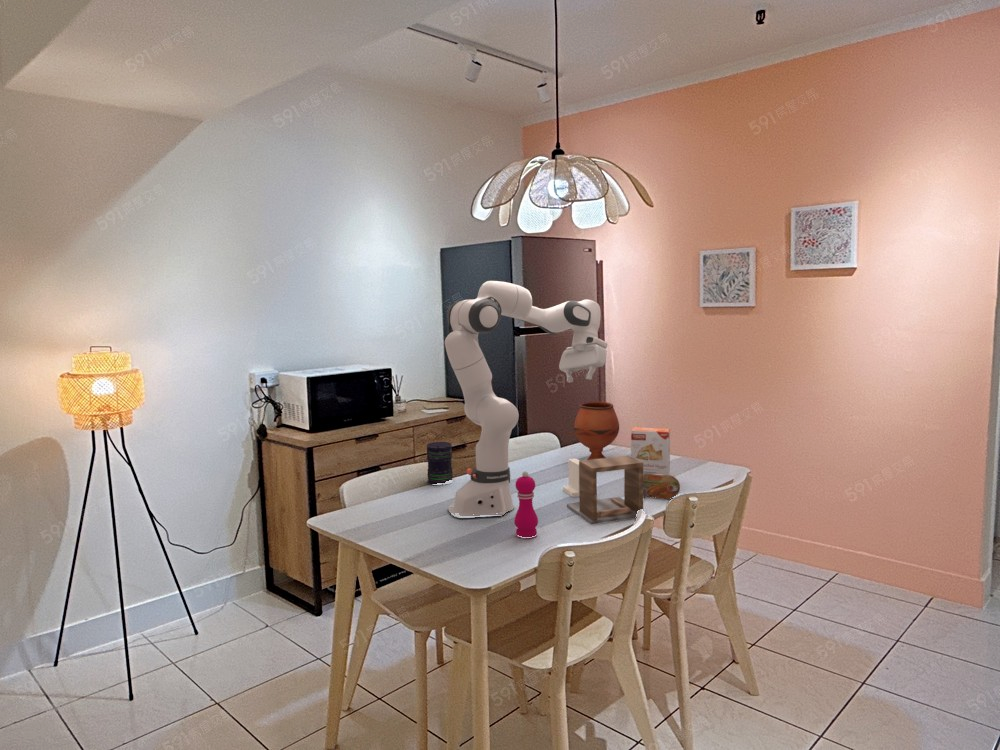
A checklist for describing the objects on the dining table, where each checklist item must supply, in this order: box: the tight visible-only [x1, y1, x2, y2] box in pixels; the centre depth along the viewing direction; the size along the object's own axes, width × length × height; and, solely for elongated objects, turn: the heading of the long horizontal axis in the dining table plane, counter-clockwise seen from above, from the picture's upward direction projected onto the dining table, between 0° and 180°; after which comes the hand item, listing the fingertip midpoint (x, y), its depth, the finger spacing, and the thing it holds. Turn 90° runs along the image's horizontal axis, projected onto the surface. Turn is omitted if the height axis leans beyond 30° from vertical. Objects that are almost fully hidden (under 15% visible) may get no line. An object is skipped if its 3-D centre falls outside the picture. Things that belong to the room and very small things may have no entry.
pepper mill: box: [513, 470, 539, 537], centre depth 207 cm, size 7×7×20 cm
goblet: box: [573, 400, 620, 460], centre depth 289 cm, size 19×19×25 cm
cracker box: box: [630, 426, 671, 475], centre depth 257 cm, size 14×6×21 cm, turn 71°
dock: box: [566, 455, 644, 525], centre depth 227 cm, size 20×19×18 cm
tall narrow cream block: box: [562, 458, 581, 498], centre depth 249 cm, size 8×9×12 cm
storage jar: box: [426, 441, 454, 486], centre depth 266 cm, size 10×10×15 cm
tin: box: [643, 473, 681, 500], centre depth 241 cm, size 15×3×8 cm, turn 62°
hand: (578, 380), depth 242 cm, fingers open, 8 cm apart
